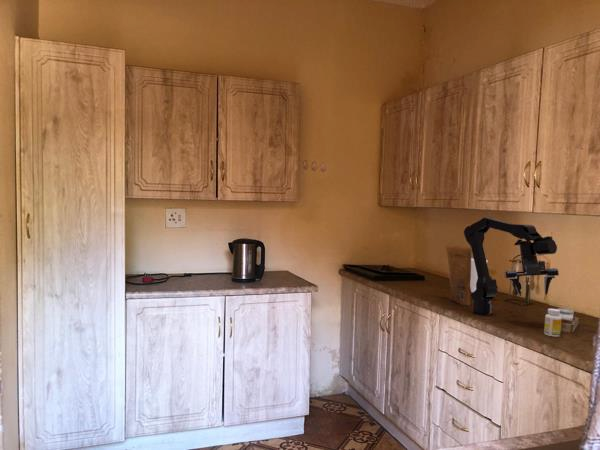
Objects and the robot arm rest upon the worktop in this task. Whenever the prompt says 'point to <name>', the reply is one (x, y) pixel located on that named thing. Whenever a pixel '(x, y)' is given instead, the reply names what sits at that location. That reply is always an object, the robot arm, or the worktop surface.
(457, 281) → the pancake mix bag
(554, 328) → the supplement bottle
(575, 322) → the crate
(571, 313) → the jar
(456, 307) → the worktop surface
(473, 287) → the cup
